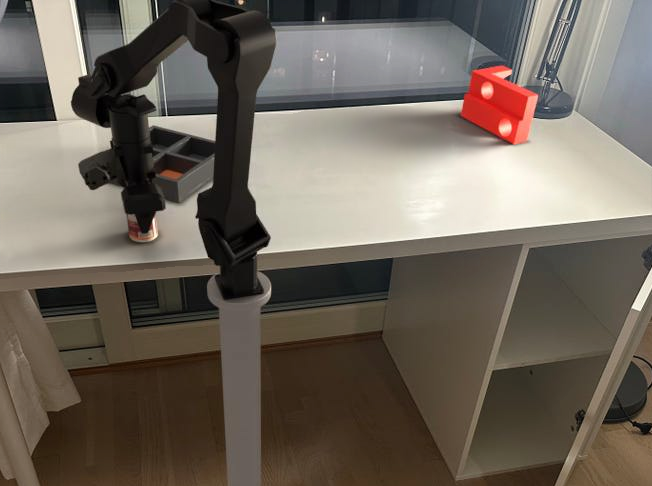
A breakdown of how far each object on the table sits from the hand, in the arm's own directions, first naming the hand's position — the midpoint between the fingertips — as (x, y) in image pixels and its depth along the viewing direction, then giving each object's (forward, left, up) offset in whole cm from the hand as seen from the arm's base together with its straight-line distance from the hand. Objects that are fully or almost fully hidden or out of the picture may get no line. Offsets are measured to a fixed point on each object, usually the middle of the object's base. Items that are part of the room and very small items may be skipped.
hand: (142, 225), depth 119 cm
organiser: (+23, -8, -2) cm, 25 cm away
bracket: (+28, -87, -2) cm, 92 cm away
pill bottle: (0, 0, -2) cm, 2 cm away
